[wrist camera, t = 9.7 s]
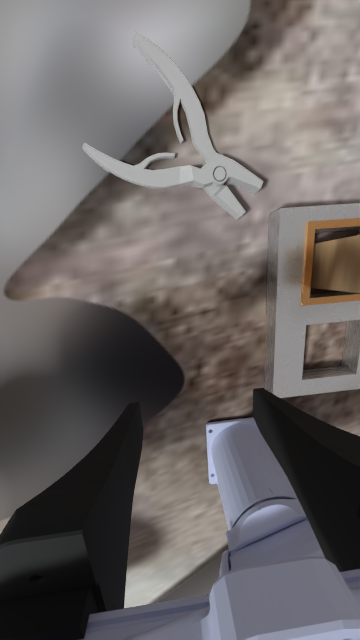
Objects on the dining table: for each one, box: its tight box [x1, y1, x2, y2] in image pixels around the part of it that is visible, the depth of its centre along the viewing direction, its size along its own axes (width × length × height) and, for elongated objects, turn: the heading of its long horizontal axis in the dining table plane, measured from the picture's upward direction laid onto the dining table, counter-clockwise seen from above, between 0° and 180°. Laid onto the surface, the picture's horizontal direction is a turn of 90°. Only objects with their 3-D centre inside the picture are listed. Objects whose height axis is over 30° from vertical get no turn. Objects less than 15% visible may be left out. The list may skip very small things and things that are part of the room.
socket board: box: [264, 203, 360, 398], centre depth 21 cm, size 20×13×2 cm, turn 4°
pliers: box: [82, 32, 263, 219], centre depth 18 cm, size 10×2×15 cm
